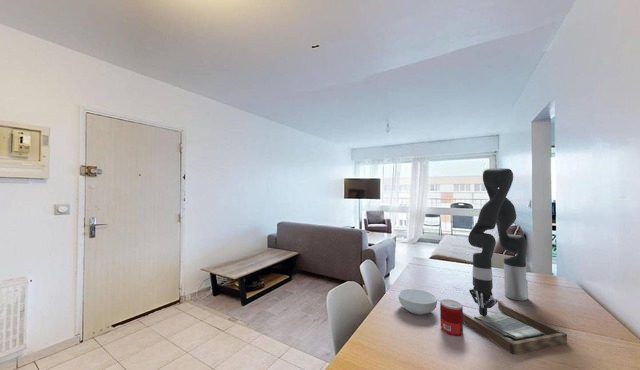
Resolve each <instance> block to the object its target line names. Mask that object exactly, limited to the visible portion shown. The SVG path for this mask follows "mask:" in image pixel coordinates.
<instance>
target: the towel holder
mask: <svg viewBox="0 0 640 370" xmlns="http://www.w3.org/2000/svg"><path fill="white" fill-rule="evenodd" d="M497 308H498V310H500V312H501V314H504V315H506V316H508V317H511V318H513V319H515V320H518V321H520V322H522V323H524V324H526V325H528V326H531V327H533V328H535V329H537V330H539V331H540V332H542V333H544V334H545V336H541V337H535V338H530V339H525V340H520V341H514V342H512V341H510V340H509V339H507V338H505V337H504V336H502V335H500V334H499V333H497V332H495V331H494V330H492V329H490V328H489V327H487V326H485V325H484V324H482V323H480V322H479V321H477V320H475V319H474V317H472V316H470V315H468V314H467V313H466V312H463V324H465V325H467V326H469V327H470V328H471V329H474V330H475V331H477V332H478V333H480V335H482V336H484V337H486V338H487V339H489V340H490V341H491V342H493V343H495V344H496V345H497V346H499V347H501V348H502V349H504V350H506V352H509V353H510V354H512V355H518V354H524V353H529V352H533V351H539V350H543V349H548V348H553V347H557V346H562V344H563V345H567V344H568V334H567V333H565V332H563V331H561V330H559V329H556V328H555V327H553V326H550V325H548V324H546V323H544V322H542V321H540V320H537V319H536V318H534V317H532V316H529V315H526V314H525V313H522V312H520V311H518V310H516V309H514V308H511V307H509V306H508V305H506V304H505V303H504V302H503V301H502V300H498V302H497Z"/></svg>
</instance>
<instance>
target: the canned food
mask: <svg viewBox="0 0 640 370" xmlns="http://www.w3.org/2000/svg"><path fill="white" fill-rule="evenodd" d="M439 306H440V309H439V312H440V313H439V314H440V329H441V331H442V332H444V333H445V334H447V335H449V336H453V337H459V336H462V335H463V333H464V322H463V310H464V309H463V304H462V303H460V302H459V301H456V300H453V299H441V300H440V303H439Z"/></svg>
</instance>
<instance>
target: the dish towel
mask: <svg viewBox="0 0 640 370" xmlns="http://www.w3.org/2000/svg"><path fill="white" fill-rule="evenodd" d="M473 318H474V319H475V320H477V321H479V322H480V323H482V324H484V325H485V326H487V327H489V328H490V329H492V330H494V331H495V332H497V333H499V334H500V335H502V336H504V337H505V338H507V339H509V340H510V341H512V342H514V341H520V340H525V339H530V338H535V337H541V336H546V334H544V333H542V332H540V331H539V330H537V329H535V328H533V327H531V326H528V325H526V324H524V323H522V322H520V321H518V320H516V319H514V318H512V317H510V316H508V315H506V314H504V313H502V312H498V313H495V314H489V315H488V314H487V315H486V316H482V315H480V316H474V317H473Z"/></svg>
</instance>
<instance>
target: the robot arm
mask: <svg viewBox="0 0 640 370" xmlns="http://www.w3.org/2000/svg"><path fill="white" fill-rule="evenodd" d="M482 181H483V185H484V188H485V190H486V193H487V196H488V198H489V200H488V201H487V202H485V203H484V205H483V206H482V207H481V209H480V210H479V215H478V219H477V221H476V223H475V224H474V226H473V228H472V229H471V230H470V232H469V234H468V236H467V237H468V238H467V240H468V243H469V245H470V246H472V247H475V248H479V249H482V250H481V252H474V253H473V255H472V285H473V288H472V289H471V288H470V289H469V290H468V291H469V293H470V296H471V297H472V299H473V301H474V303H475V304H477V306H478V312H479V316H487V315H488V309H492V308H493V307H494V306H495V305H496V304H498V301H499V300H498V299H497V298H494V296H493V292H492V290H493V289H494V288H493V282H494V281H493V270H492V267H493V266H492V257H493V254H494V251H495V248H496V246H497V245H496V244H497V241H496V238H495V236H494V235H493V234H490V233H487V232H486V231H489V230H494V229H495V228H497V233H498V239H499V240H498V241H499V244H500V248H501V249H502V250H503V251H505V252H512V253H513V252H514V253H516V255H513V256H507V257H504V259H503V273H504V274H503V275H504V276H503V277H504V278H503V279H504V280H503V281H504V296H505V297H507V298H508V299H512V300H514V301H523V302H524V301H527V300H528V299H529V287H528V285H529V284H528V281H529V280H528V279H527V239H526V237H525V236H524V235H520V234H512V233H507V231H508V230H509V228H510V227H511V226H512V225H513V224H514V223H515V222H516V219H517V213H516V207H515V205H514V203H513V202H512V201H511V200H510V199H509V198H508V197H507V196H508V193H509V192H510V189H511V187H512V184H513V181H514V173H513V171H512V170H511V168H504V167H503V168H486V169H485V170H484V171H483V173H482ZM485 232H486V233H485Z"/></svg>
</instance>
